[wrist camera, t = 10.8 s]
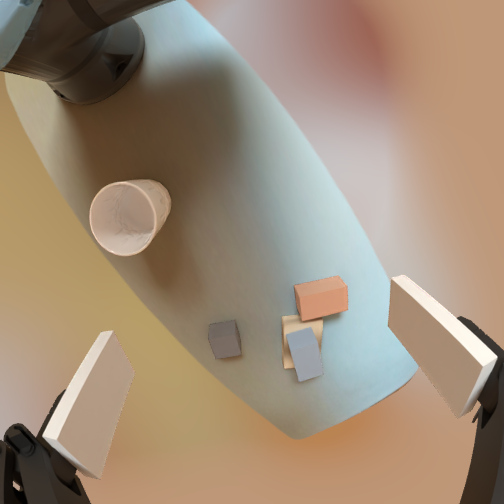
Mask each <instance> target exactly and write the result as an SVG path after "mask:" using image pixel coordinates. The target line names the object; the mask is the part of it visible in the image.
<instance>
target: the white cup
mask: <svg viewBox="0 0 504 504" xmlns="http://www.w3.org/2000/svg"><path fill="white" fill-rule="evenodd" d="M170 211H171V198H170V195H169V193H168V190H167V189H166V188H165V187H164V186H163V185H162V184H161V183H160V182H157V181H154V180H151V179H147V180H143V179H139V180H128V181H122V182H115V183H111V184H109V185H107V186H105V187H104V188H102V189H101V190H100V191H99V192H98V193H97V195H96V196H95V198H94V200H93V202H92V204H91V208H90V215H89V219H90V226H91V230H92V232H93V235H94V237H95V238H96V240H97V241H98V243H99V244H100V245H101V246H102V247H103V248H104V249H106V250H107V251H109V252H110V253H113V254H115V255H119V256H131V255H135V254H138V253H140V252H141V251H143V250H144V249H145V248H146V247H147V246H148V245H149V244H150V242H151V241H152V240H153V238H154V237H155V236H156V234H157V233H158V232H159V230H160V229H161V227H162V226H163V224H164V223H165V221H166V219H167V217H168V215H169V213H170Z"/></svg>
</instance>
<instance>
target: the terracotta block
mask: <svg viewBox="0 0 504 504" xmlns="http://www.w3.org/2000/svg"><path fill="white" fill-rule="evenodd" d="M294 289H295V296H296V304H297V309H298V312H299V314H300V316H301V319H302V321H305V320H310V319H314V318H318V317H322V316H327V315H331V314H335V313H339V312H343V311H346V310H348V290H347V285H346V284H345V283H344V282H343V280H342V279H341V278H340V277H339V276H334V277H329V278H325V279H320V280H316V281H311V282H307V283H302V284H297V285H294Z"/></svg>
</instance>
